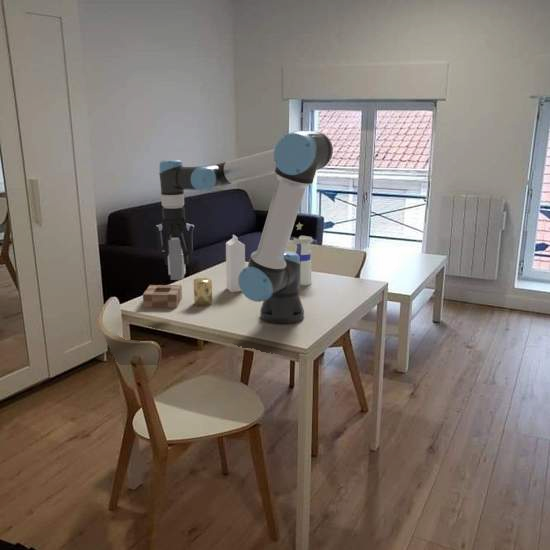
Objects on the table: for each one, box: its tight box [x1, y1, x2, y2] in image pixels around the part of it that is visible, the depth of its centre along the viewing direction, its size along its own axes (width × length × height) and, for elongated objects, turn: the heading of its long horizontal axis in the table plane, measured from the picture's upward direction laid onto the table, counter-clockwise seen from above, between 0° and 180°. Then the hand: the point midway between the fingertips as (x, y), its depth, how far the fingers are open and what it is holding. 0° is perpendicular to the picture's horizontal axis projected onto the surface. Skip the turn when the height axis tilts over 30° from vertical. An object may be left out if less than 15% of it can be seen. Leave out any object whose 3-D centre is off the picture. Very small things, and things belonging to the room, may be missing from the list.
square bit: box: [168, 237, 185, 281], centre depth 195 cm, size 4×4×14 cm
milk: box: [225, 234, 246, 293], centre depth 224 cm, size 6×6×22 cm
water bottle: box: [293, 221, 314, 286], centre depth 233 cm, size 8×9×25 cm
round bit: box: [193, 277, 213, 308], centre depth 208 cm, size 7×7×9 cm
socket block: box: [142, 284, 183, 309], centre depth 210 cm, size 12×12×5 cm
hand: (177, 273), depth 197 cm, fingers closed on square bit, 4 cm apart
